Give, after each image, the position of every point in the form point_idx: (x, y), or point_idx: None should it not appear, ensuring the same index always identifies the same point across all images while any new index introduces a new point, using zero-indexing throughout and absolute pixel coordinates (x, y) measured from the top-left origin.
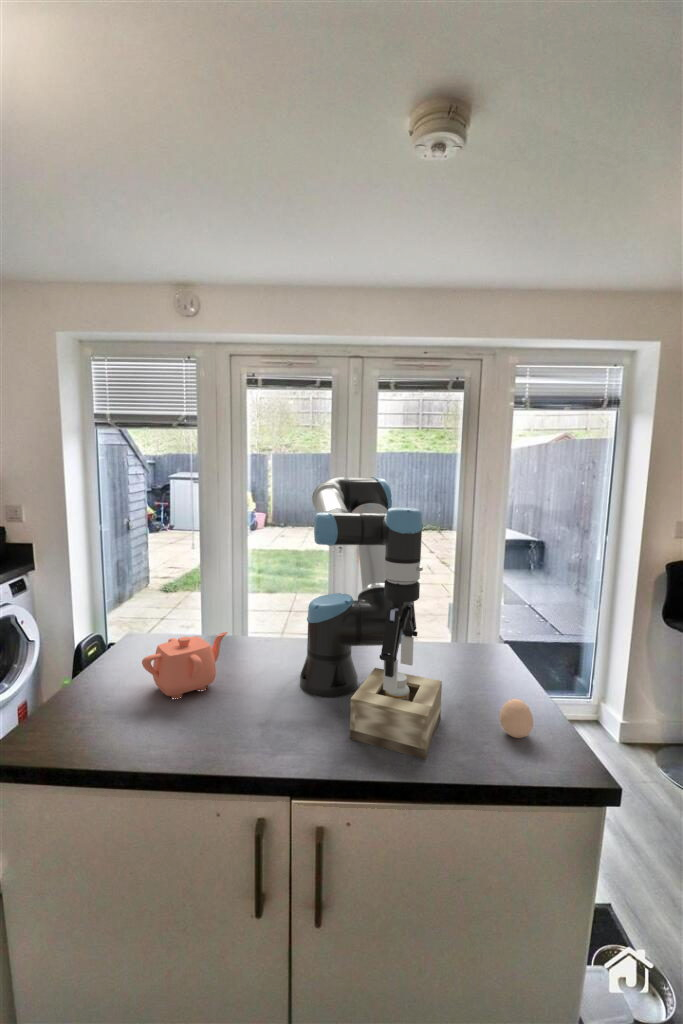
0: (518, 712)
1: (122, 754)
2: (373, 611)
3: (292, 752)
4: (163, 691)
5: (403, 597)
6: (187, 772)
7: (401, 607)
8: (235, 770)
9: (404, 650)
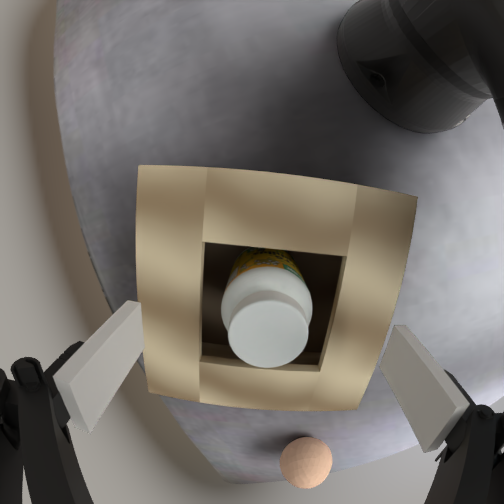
0: (288, 479)
1: None
2: None
3: (108, 84)
4: None
5: None
6: (56, 10)
7: None
8: (61, 46)
9: (415, 374)
